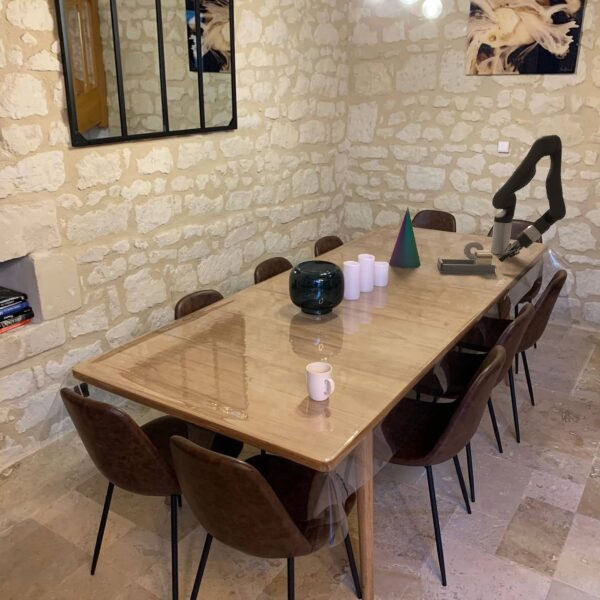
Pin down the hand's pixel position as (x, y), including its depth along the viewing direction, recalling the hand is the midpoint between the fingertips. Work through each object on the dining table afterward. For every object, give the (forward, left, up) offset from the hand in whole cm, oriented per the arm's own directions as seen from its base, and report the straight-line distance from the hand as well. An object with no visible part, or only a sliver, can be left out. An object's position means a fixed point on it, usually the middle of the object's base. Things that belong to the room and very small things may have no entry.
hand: (499, 260), depth 287 cm
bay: (0, -16, -5) cm, 17 cm away
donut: (-19, -9, -5) cm, 22 cm away
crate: (0, -8, -4) cm, 9 cm away
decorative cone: (-9, -45, -5) cm, 46 cm away
